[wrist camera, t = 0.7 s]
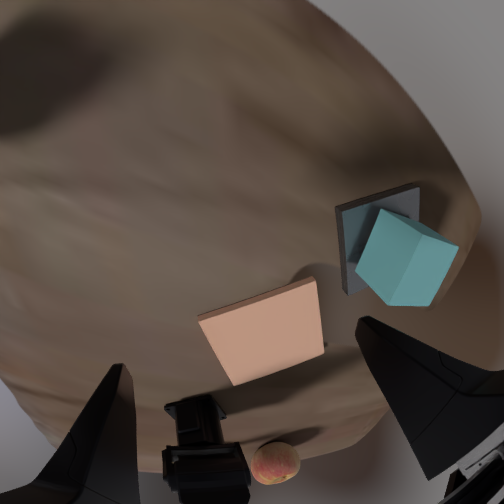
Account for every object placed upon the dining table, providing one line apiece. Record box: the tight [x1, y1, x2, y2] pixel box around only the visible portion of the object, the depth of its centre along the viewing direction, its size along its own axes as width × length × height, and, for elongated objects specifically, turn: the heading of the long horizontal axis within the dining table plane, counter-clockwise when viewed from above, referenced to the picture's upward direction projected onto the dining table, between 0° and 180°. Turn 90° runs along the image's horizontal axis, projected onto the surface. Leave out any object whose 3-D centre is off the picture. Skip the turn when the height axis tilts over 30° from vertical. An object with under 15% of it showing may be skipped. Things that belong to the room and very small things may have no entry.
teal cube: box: [355, 209, 459, 306], centre depth 21 cm, size 6×6×5 cm
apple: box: [251, 442, 300, 484], centre depth 39 cm, size 9×9×8 cm
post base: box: [335, 183, 420, 296], centre depth 23 cm, size 9×9×6 cm
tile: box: [198, 276, 324, 386], centre depth 27 cm, size 11×11×1 cm
